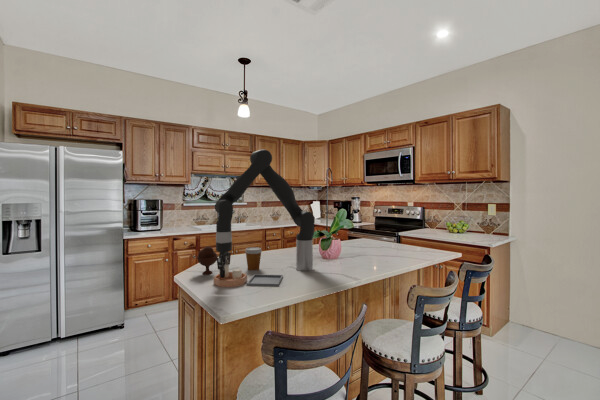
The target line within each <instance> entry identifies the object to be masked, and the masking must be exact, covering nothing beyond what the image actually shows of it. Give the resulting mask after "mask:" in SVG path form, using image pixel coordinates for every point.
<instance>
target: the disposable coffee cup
mask: <svg viewBox="0 0 600 400" xmlns="http://www.w3.org/2000/svg"><path fill="white" fill-rule="evenodd" d="M262 251H263V250H262V248H261V247H255V246H253V247H252V246H251V247H246V248H245V250H244V252H245V256H246V264H247V270H248V271H259V270H260V264H261V257H262Z"/></svg>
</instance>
